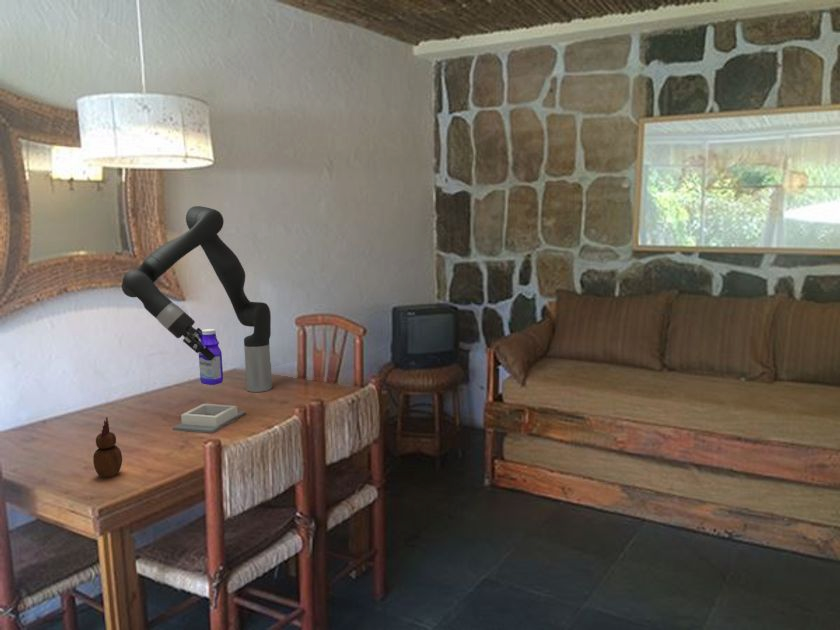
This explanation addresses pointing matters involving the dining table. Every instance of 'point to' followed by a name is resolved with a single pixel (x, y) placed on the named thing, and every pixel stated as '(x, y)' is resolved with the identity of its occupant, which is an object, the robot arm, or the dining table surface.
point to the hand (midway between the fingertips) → (215, 355)
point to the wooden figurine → (107, 453)
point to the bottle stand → (208, 418)
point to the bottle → (211, 369)
